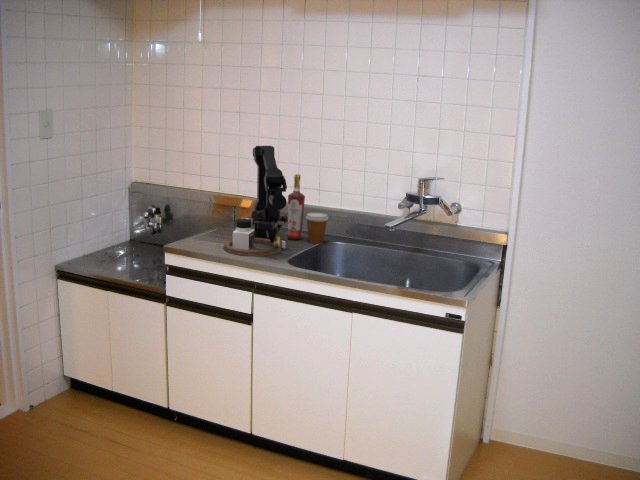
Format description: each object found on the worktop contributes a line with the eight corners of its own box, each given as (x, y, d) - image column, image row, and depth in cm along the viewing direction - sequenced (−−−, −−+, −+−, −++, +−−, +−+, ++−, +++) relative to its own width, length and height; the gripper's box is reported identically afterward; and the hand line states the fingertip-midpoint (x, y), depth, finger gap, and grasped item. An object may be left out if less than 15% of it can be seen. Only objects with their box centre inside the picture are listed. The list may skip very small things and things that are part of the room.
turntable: (235, 239, 310) (235, 226, 309) (287, 244, 305) (288, 231, 303) (215, 252, 288) (215, 238, 287) (270, 258, 283) (271, 244, 282)
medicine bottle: (249, 250, 294) (249, 221, 291) (232, 248, 295) (232, 219, 292) (254, 246, 300) (254, 217, 297) (237, 244, 302) (238, 216, 299)
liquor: (284, 239, 313) (287, 175, 306) (288, 235, 320) (290, 173, 313) (301, 241, 312) (304, 176, 305) (304, 237, 319) (307, 174, 312)
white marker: (282, 248, 299) (282, 242, 299) (280, 246, 301) (281, 240, 301) (285, 248, 300) (285, 242, 299) (283, 246, 302) (283, 240, 301)
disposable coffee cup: (328, 244, 309) (330, 217, 306) (306, 244, 307) (307, 216, 304) (324, 239, 318) (326, 212, 315) (303, 239, 316) (304, 212, 313)
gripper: (263, 198, 299) (262, 235, 302) (245, 206, 281) (244, 245, 285) (288, 201, 296) (287, 238, 299) (272, 209, 278) (270, 248, 282)
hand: (272, 242), depth 291 cm, fingers closed
